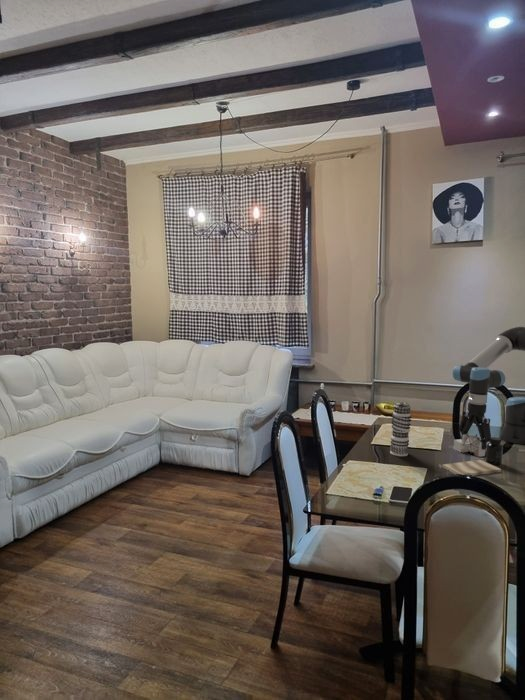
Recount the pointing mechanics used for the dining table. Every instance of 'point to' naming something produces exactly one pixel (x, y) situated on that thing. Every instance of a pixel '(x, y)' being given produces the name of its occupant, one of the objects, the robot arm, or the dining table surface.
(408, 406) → the tower model
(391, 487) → the dining table surface
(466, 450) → the grey block
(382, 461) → the dining table surface
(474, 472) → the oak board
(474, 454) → the terracotta cylinder
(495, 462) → the supplement bottle
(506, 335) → the robot arm
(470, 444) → the game die
